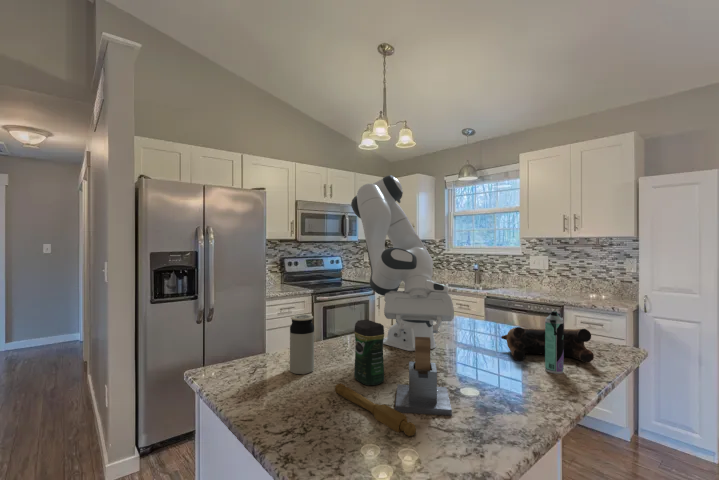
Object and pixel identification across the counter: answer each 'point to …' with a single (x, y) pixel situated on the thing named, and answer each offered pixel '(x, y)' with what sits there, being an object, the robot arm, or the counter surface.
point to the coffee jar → (369, 352)
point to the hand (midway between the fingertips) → (418, 331)
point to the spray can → (554, 344)
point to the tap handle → (379, 411)
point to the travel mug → (301, 344)
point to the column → (422, 353)
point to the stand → (423, 393)
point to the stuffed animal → (534, 343)
